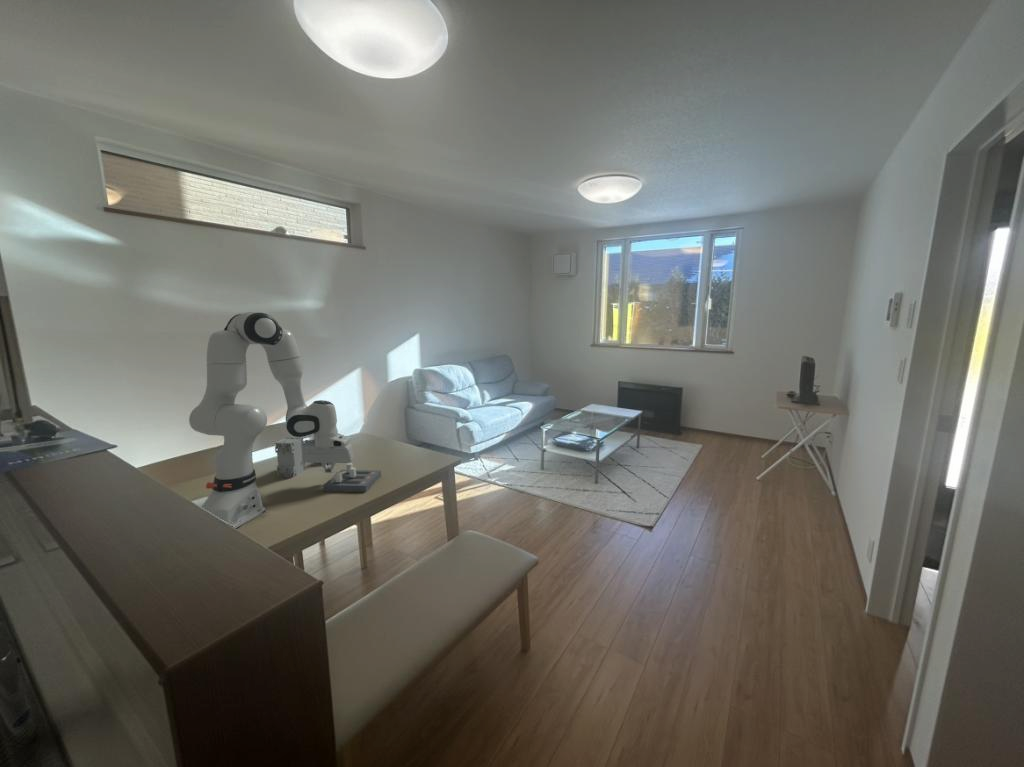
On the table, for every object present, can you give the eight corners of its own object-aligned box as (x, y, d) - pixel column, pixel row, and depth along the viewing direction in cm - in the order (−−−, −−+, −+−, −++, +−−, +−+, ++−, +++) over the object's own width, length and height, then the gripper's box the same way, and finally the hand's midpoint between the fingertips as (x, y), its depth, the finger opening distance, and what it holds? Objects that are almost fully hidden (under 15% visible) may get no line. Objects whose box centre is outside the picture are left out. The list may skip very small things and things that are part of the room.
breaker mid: (354, 477, 166) (353, 469, 166) (349, 477, 166) (349, 469, 166) (356, 475, 168) (355, 467, 168) (352, 475, 168) (351, 467, 168)
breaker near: (340, 482, 162) (339, 473, 161) (335, 482, 162) (335, 473, 161) (342, 480, 164) (341, 472, 163) (338, 480, 164) (337, 471, 163)
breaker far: (351, 472, 171) (350, 464, 171) (346, 472, 172) (346, 464, 171) (353, 470, 173) (352, 463, 173) (349, 470, 174) (348, 463, 173)
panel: (366, 491, 160) (365, 485, 159) (323, 491, 160) (323, 484, 160) (381, 476, 175) (380, 470, 175) (342, 475, 176) (341, 469, 176)
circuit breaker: (313, 465, 188) (311, 433, 185) (294, 477, 174) (291, 443, 171) (298, 464, 189) (295, 433, 186) (277, 476, 175) (274, 442, 172)
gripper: (297, 442, 163) (300, 475, 166) (347, 442, 162) (350, 475, 165) (305, 437, 169) (308, 469, 172) (354, 437, 169) (356, 469, 171)
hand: (329, 472), depth 168 cm, fingers closed
